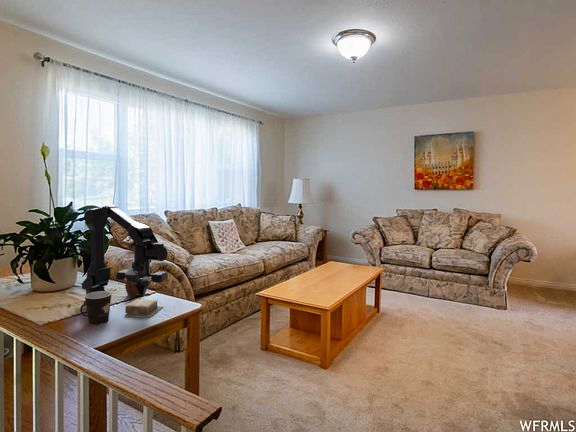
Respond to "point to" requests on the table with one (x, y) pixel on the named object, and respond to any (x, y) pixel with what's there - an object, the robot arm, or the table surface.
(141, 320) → the table surface
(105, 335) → the table surface
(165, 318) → the table surface
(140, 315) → the rubber mat
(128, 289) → the wooden figurine
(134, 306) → the wooden block
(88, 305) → the coffee mug
